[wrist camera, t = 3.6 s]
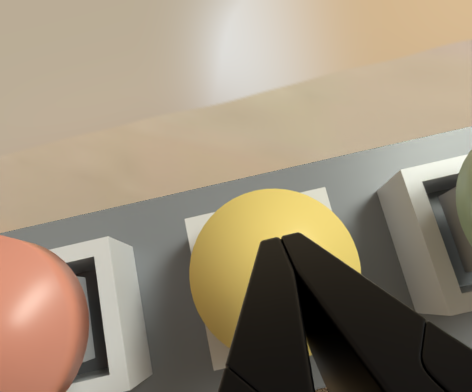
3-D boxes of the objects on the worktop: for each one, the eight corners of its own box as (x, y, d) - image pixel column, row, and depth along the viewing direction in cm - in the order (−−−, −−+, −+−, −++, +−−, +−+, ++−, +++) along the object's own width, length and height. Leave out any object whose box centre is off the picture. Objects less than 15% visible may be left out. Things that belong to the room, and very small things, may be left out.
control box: (549, 315, 20) (702, 323, 13) (25, 436, 20) (-98, 509, 13) (481, 145, 22) (581, 77, 15) (10, 253, 22) (-101, 232, 15)
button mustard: (349, 329, 16) (383, 340, 12) (221, 358, 16) (208, 380, 12) (314, 204, 17) (334, 172, 13) (195, 231, 17) (175, 208, 13)
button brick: (134, 386, 14) (79, 426, 9) (-17, 421, 14) (-142, 477, 9) (113, 238, 15) (54, 213, 11) (-25, 269, 15) (-139, 257, 11)
